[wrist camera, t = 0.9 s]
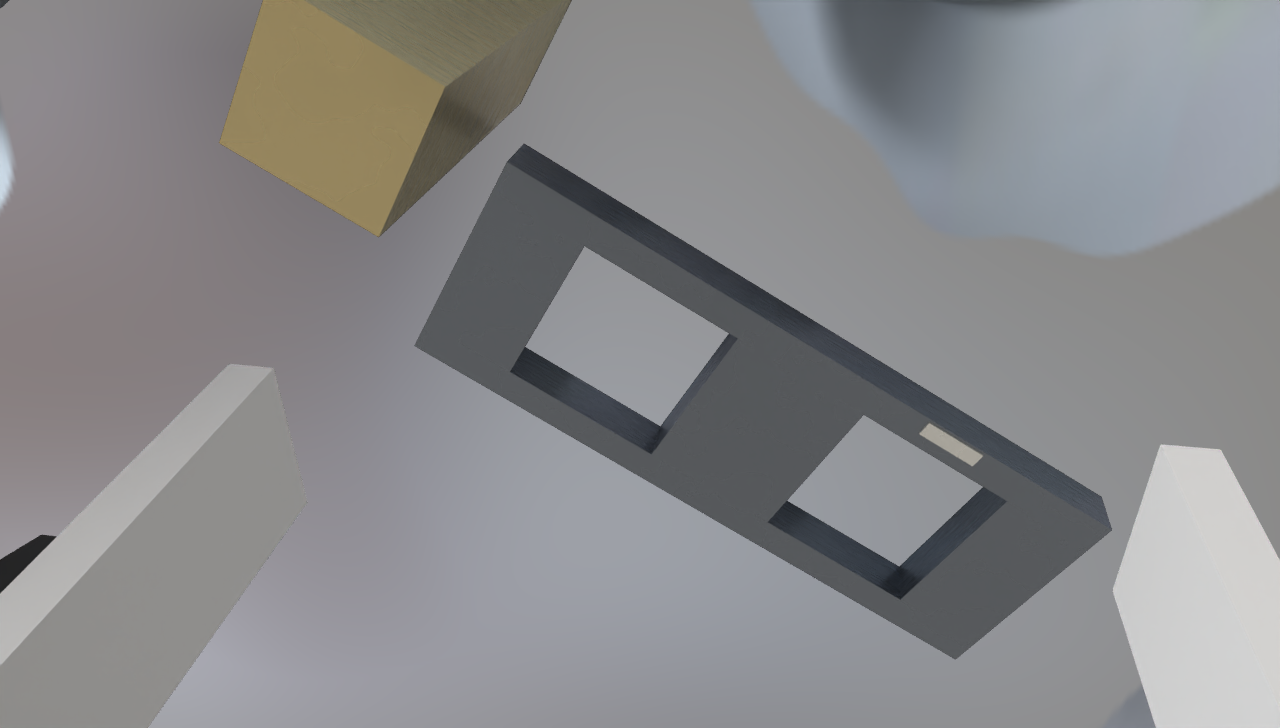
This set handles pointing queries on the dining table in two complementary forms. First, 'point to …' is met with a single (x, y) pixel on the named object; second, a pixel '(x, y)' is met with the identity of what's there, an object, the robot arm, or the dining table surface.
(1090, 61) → the dining table surface
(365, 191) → the brass block
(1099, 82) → the dining table surface
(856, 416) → the panel
